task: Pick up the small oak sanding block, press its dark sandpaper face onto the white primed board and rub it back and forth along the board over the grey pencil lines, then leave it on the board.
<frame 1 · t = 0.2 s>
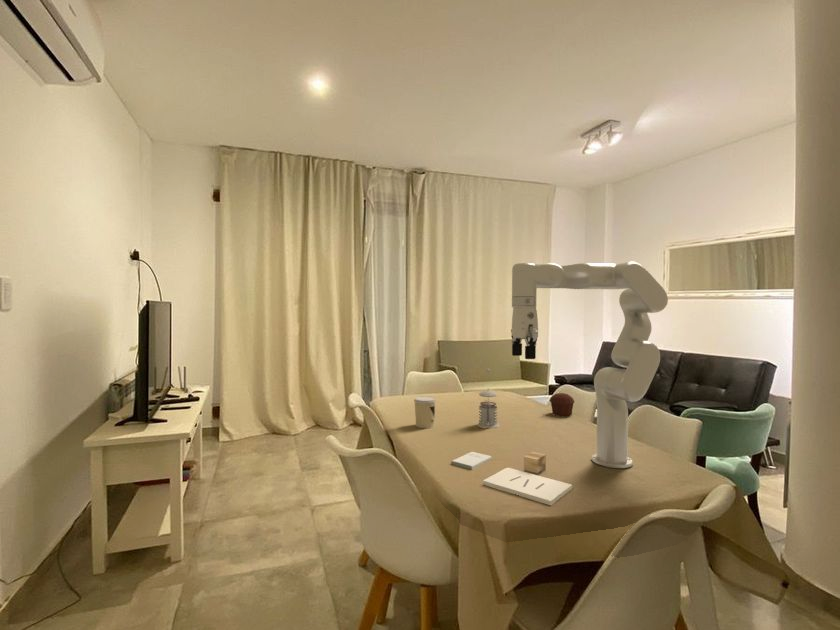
hand: (523, 357, 139), 36 cm above the table, tool pointing down, fingers open, 9 cm apart
external hard drive: (471, 463, 149), on the table
board: (527, 486, 128), on the table
french press: (488, 426, 194), on the table
coffee cup: (425, 426, 194), on the table
muffin: (561, 414, 214), on the table
sanding block: (534, 471, 140), on the table
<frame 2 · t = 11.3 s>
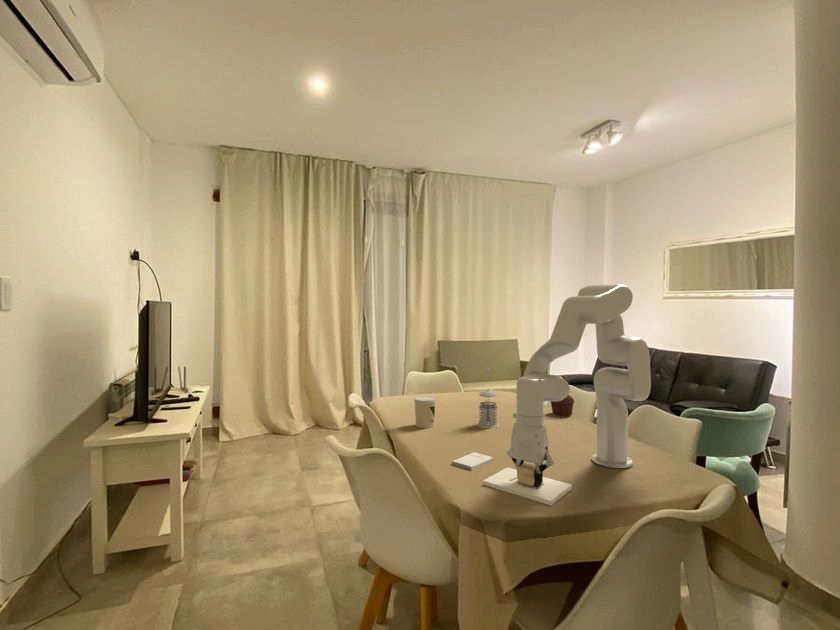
hand: (529, 482, 127), 1 cm above the table, tool pointing down, fingers closed on sanding block, 4 cm apart
sanding block: (529, 482, 127), point 1 cm above the table, touching gripper
everything else where it was.
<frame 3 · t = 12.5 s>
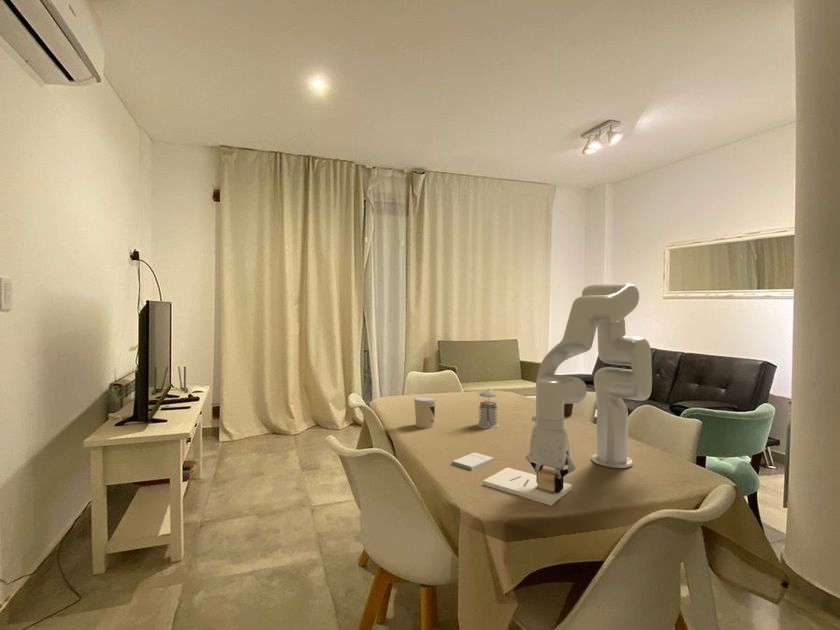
hand: (549, 488, 123), 1 cm above the table, tool pointing down, fingers closed on sanding block, 4 cm apart
sanding block: (549, 488, 123), point 1 cm above the table, touching gripper
everything else where it was.
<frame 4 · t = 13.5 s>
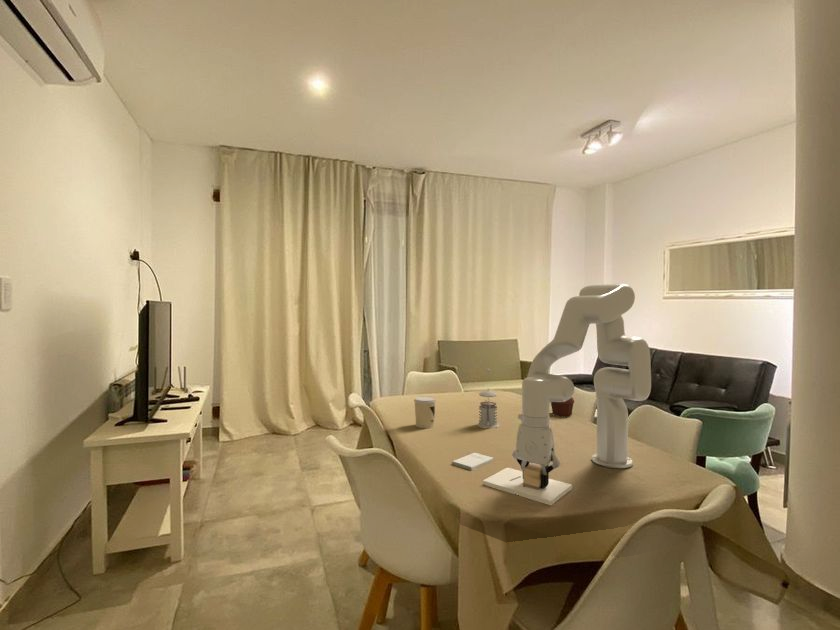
hand: (535, 484, 126), 1 cm above the table, tool pointing down, fingers closed on sanding block, 4 cm apart
sanding block: (535, 484, 126), point 1 cm above the table, touching gripper
everything else where it was.
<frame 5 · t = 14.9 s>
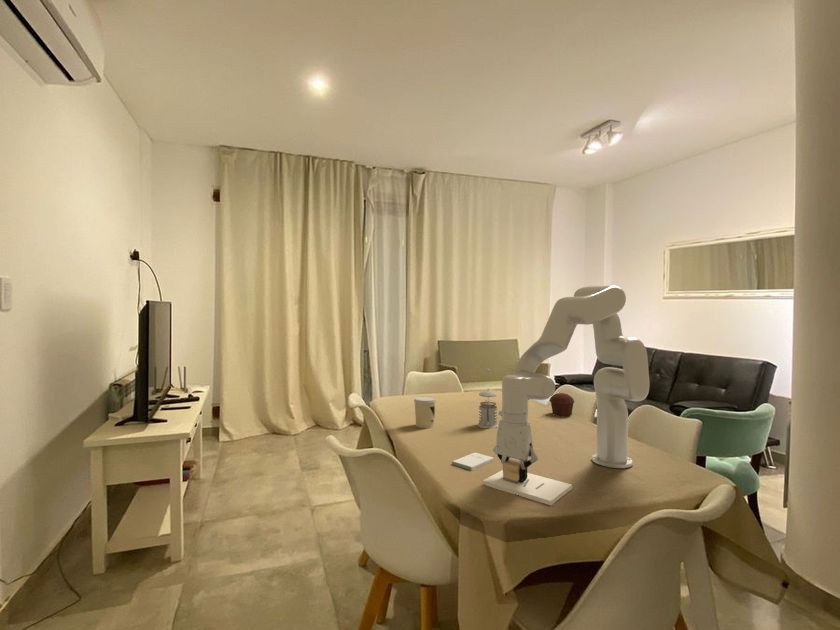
hand: (514, 478, 130), 1 cm above the table, tool pointing down, fingers closed on sanding block, 4 cm apart
sanding block: (515, 478, 130), point 1 cm above the table, touching gripper
everything else where it was.
when the fingers open (1 cm above the table, at t = 15.0 s): sanding block stays where it is, resting on board.
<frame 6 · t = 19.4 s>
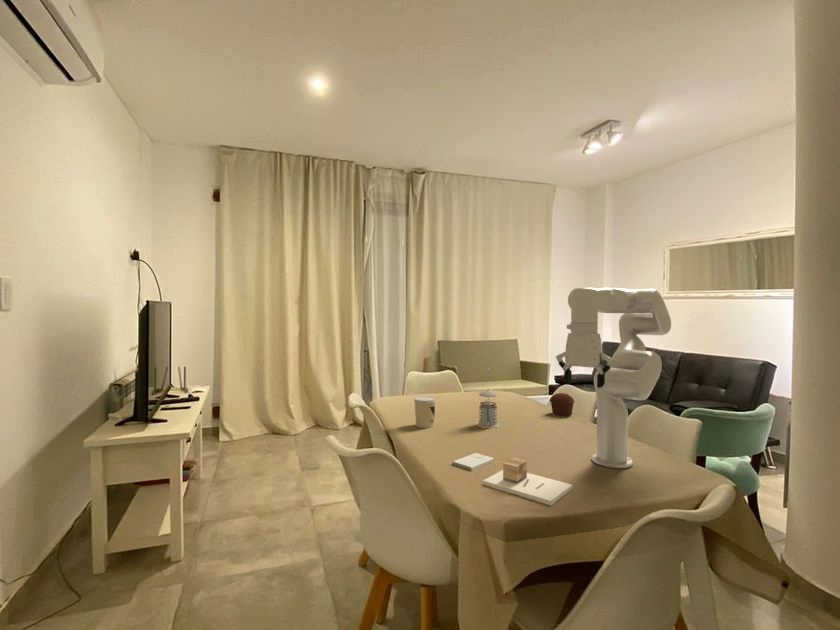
hand: (583, 385, 133), 28 cm above the table, tool pointing down, fingers open, 9 cm apart
sanding block: (515, 478, 130), point 1 cm above the table, touching board
at the end: sanding block inside the target area (4.0 cm from its centre), point 1.2 cm above the table; sanding block moved 12.9 cm from its start; the gripper is holding nothing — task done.
